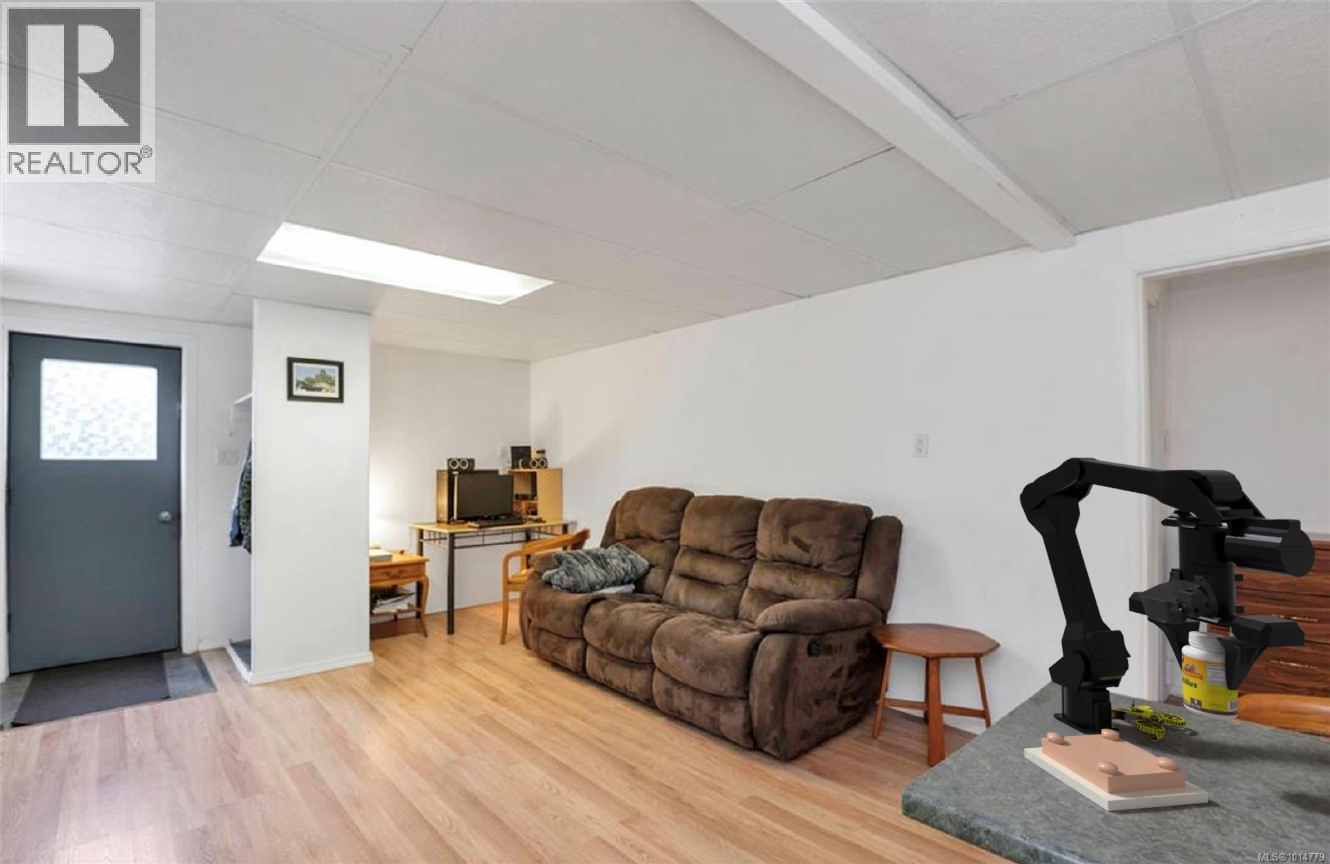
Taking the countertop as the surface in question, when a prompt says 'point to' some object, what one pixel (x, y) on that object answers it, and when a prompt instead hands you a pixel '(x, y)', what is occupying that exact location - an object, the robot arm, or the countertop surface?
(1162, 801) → the tower base
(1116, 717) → the toy motorcycle
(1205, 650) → the supplement bottle
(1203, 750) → the countertop surface
